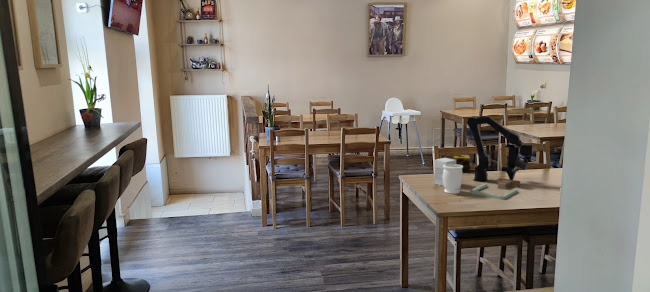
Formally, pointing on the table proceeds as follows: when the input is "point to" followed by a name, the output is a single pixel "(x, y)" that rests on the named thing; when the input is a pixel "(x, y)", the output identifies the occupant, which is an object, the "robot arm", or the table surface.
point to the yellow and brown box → (463, 162)
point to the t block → (507, 183)
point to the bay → (476, 191)
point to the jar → (452, 178)
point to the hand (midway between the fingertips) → (511, 181)
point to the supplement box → (441, 169)
